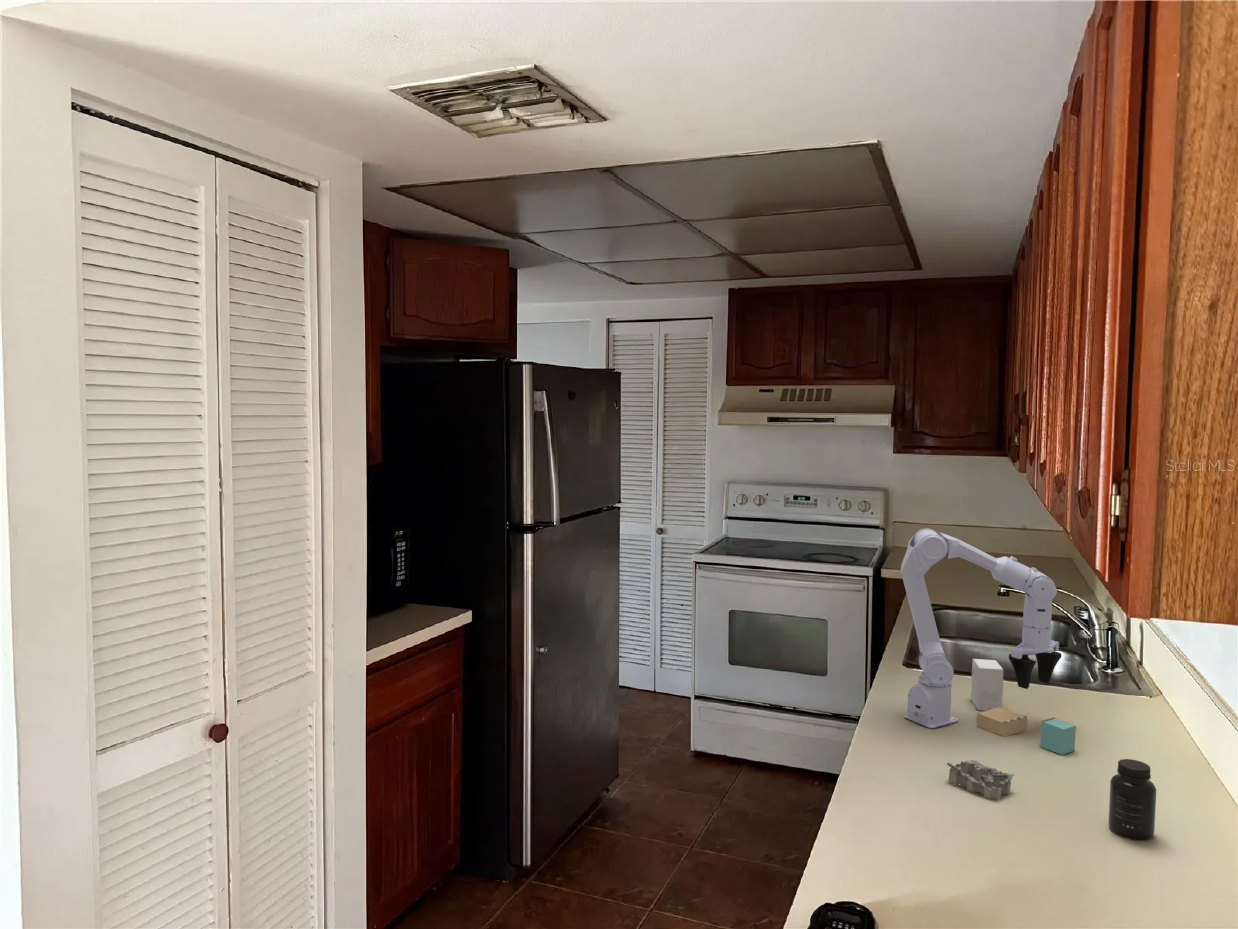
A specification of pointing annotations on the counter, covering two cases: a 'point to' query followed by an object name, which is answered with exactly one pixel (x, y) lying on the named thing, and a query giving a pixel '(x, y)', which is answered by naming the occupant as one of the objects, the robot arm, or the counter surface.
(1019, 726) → the taped cardboard box
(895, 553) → the counter surface
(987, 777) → the egg carton
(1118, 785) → the supplement bottle
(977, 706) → the small box
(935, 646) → the robot arm
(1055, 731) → the teal box
